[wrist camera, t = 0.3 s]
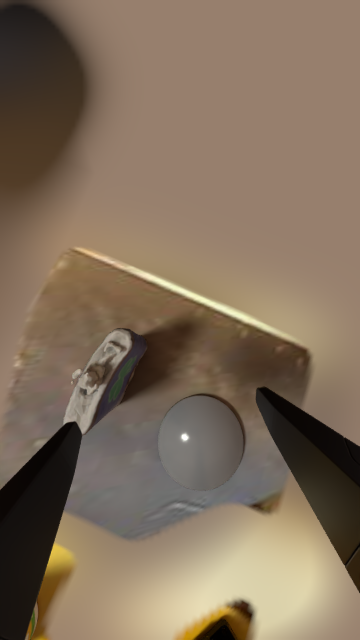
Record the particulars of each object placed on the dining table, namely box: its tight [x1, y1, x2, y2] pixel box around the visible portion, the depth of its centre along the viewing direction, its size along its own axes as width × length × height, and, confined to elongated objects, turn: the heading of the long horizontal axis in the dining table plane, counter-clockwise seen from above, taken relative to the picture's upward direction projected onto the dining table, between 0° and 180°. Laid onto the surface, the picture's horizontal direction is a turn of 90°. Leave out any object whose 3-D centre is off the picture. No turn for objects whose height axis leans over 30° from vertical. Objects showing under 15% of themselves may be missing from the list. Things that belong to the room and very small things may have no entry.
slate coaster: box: [158, 395, 243, 491], centre depth 22 cm, size 10×10×1 cm
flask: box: [63, 328, 147, 435], centre depth 18 cm, size 9×3×11 cm, turn 155°
